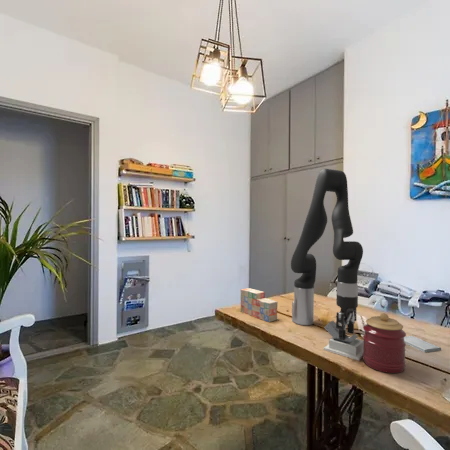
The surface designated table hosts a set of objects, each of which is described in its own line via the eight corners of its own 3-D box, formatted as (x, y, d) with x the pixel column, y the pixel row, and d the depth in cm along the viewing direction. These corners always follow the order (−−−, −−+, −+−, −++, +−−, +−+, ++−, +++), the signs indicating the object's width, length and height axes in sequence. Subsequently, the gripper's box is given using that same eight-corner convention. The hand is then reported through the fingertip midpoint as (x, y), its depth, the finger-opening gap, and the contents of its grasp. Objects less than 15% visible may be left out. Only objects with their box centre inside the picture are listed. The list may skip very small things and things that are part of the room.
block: (343, 349, 112) (324, 327, 118) (347, 346, 115) (328, 325, 120) (354, 340, 110) (333, 318, 115) (357, 337, 113) (337, 315, 118)
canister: (378, 353, 111) (378, 306, 111) (413, 368, 100) (414, 316, 100) (354, 360, 105) (355, 310, 105) (389, 377, 94) (390, 322, 94)
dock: (323, 349, 114) (323, 339, 114) (335, 341, 122) (335, 332, 122) (359, 360, 105) (359, 350, 105) (368, 350, 113) (369, 340, 113)
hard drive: (441, 347, 114) (412, 335, 126) (424, 349, 112) (397, 337, 124) (441, 351, 114) (412, 339, 126) (424, 354, 112) (397, 341, 124)
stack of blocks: (277, 320, 148) (277, 295, 148) (268, 322, 144) (268, 297, 144) (248, 309, 165) (249, 287, 165) (240, 311, 161) (240, 288, 161)
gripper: (344, 289, 121) (343, 328, 121) (329, 295, 111) (329, 338, 111) (363, 292, 116) (363, 333, 116) (350, 299, 105) (349, 344, 106)
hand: (346, 336), depth 113 cm, fingers open, 8 cm apart
